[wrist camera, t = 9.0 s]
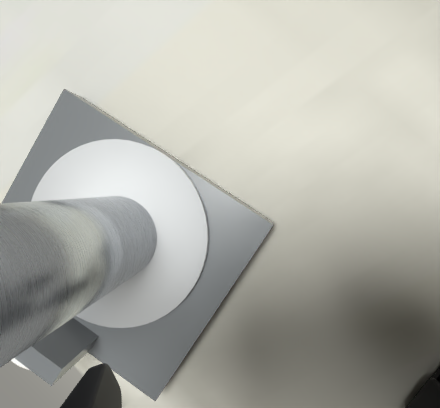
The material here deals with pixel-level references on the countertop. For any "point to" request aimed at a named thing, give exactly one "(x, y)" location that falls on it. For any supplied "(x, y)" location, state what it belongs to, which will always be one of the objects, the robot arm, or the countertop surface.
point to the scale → (164, 254)
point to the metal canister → (65, 261)
